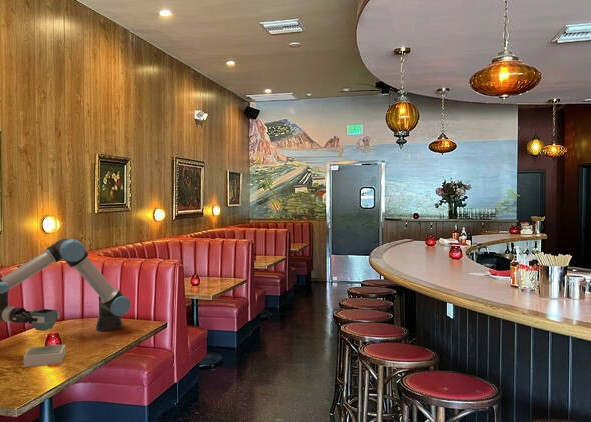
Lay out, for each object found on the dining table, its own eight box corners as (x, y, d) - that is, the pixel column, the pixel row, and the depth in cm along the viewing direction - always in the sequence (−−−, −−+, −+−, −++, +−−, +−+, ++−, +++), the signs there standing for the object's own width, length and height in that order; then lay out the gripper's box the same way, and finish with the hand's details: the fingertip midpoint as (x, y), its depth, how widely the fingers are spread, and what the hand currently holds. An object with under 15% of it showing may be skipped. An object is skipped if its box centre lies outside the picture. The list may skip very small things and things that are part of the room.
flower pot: (43, 332, 230) (43, 313, 230) (29, 330, 233) (29, 312, 233) (58, 328, 238) (58, 309, 238) (44, 326, 241) (44, 308, 241)
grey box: (65, 354, 242) (65, 343, 242) (61, 363, 229) (61, 351, 229) (29, 358, 237) (29, 347, 237) (23, 367, 224) (23, 355, 224)
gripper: (32, 317, 251) (68, 320, 244) (-5, 327, 230) (33, 331, 224) (32, 303, 251) (67, 305, 244) (-5, 311, 230) (33, 315, 224)
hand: (51, 317), depth 234 cm, fingers closed on flower pot, 9 cm apart
